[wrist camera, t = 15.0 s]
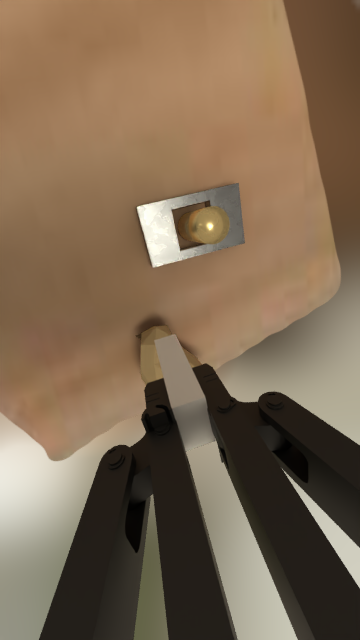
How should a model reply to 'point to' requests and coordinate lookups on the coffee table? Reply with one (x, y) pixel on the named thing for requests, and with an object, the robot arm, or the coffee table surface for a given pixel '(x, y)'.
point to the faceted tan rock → (149, 353)
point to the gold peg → (204, 225)
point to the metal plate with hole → (163, 232)
